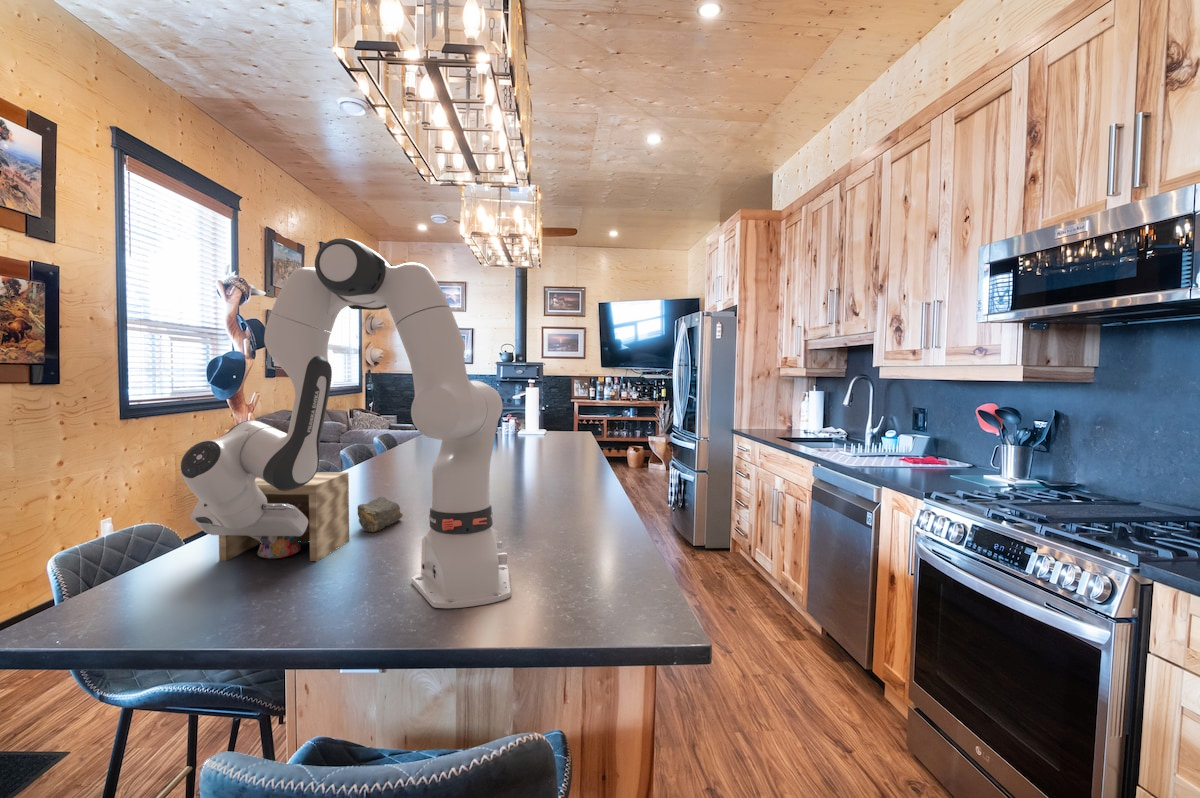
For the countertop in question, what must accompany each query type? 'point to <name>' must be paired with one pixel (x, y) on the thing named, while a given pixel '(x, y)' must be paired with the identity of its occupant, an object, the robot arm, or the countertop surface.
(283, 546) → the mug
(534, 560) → the countertop surface
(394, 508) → the rock
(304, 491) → the shelf unit
